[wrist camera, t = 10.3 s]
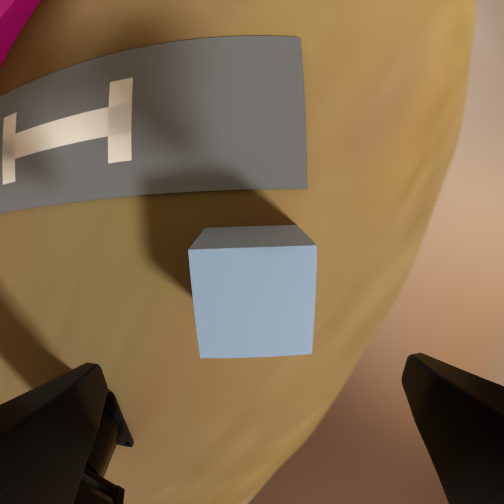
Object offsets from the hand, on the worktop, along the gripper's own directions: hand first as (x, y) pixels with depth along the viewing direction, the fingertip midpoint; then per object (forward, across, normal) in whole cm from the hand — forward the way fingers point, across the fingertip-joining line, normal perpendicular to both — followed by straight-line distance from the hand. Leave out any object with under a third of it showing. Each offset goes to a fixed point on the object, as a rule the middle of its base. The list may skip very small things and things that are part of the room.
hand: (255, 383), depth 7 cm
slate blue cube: (+10, 0, 0) cm, 10 cm away
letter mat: (+10, +8, -9) cm, 16 cm away
